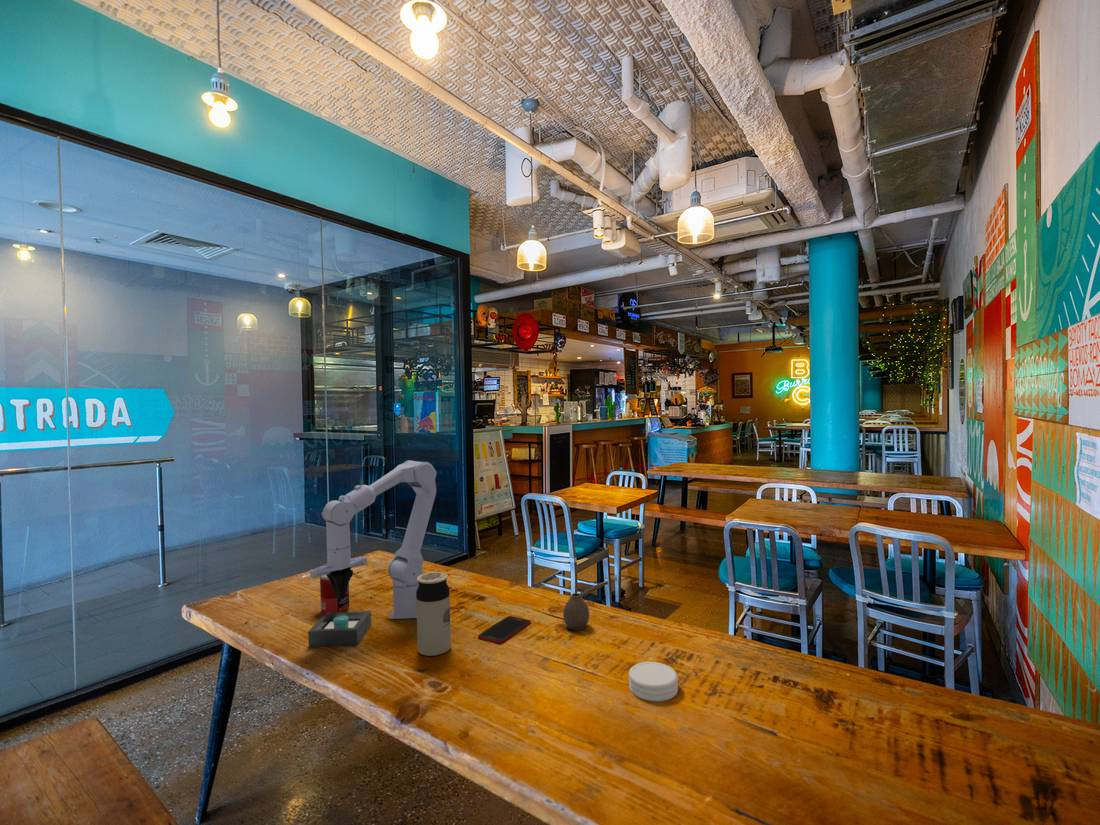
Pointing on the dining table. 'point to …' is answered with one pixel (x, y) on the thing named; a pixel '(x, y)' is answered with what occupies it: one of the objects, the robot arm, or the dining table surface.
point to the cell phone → (504, 630)
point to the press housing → (339, 630)
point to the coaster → (653, 681)
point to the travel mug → (433, 614)
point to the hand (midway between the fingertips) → (340, 598)
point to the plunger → (341, 623)
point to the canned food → (332, 597)
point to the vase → (576, 612)
